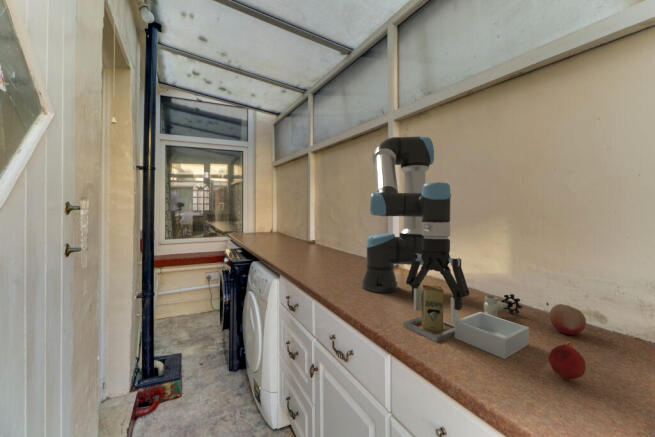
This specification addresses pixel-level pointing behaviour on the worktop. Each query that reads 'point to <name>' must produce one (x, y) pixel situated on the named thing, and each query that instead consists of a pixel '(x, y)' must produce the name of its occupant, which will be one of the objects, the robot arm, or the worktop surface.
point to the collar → (436, 338)
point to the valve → (500, 305)
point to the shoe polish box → (432, 309)
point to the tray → (492, 334)
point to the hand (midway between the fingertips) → (435, 315)
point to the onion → (567, 362)
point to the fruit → (567, 319)
